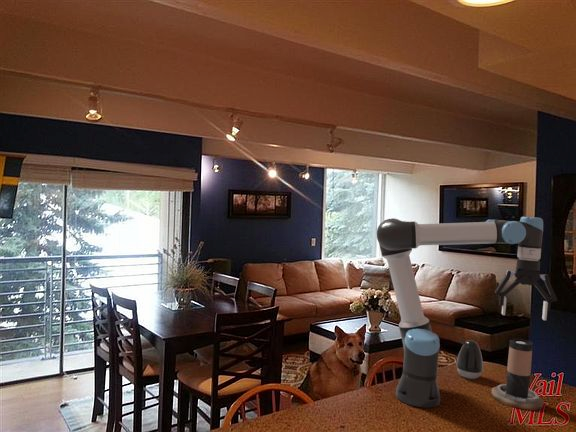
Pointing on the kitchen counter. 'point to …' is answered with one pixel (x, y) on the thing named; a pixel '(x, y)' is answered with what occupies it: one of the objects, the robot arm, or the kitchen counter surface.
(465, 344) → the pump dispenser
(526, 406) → the carrier plate
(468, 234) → the robot arm
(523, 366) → the travel mug
